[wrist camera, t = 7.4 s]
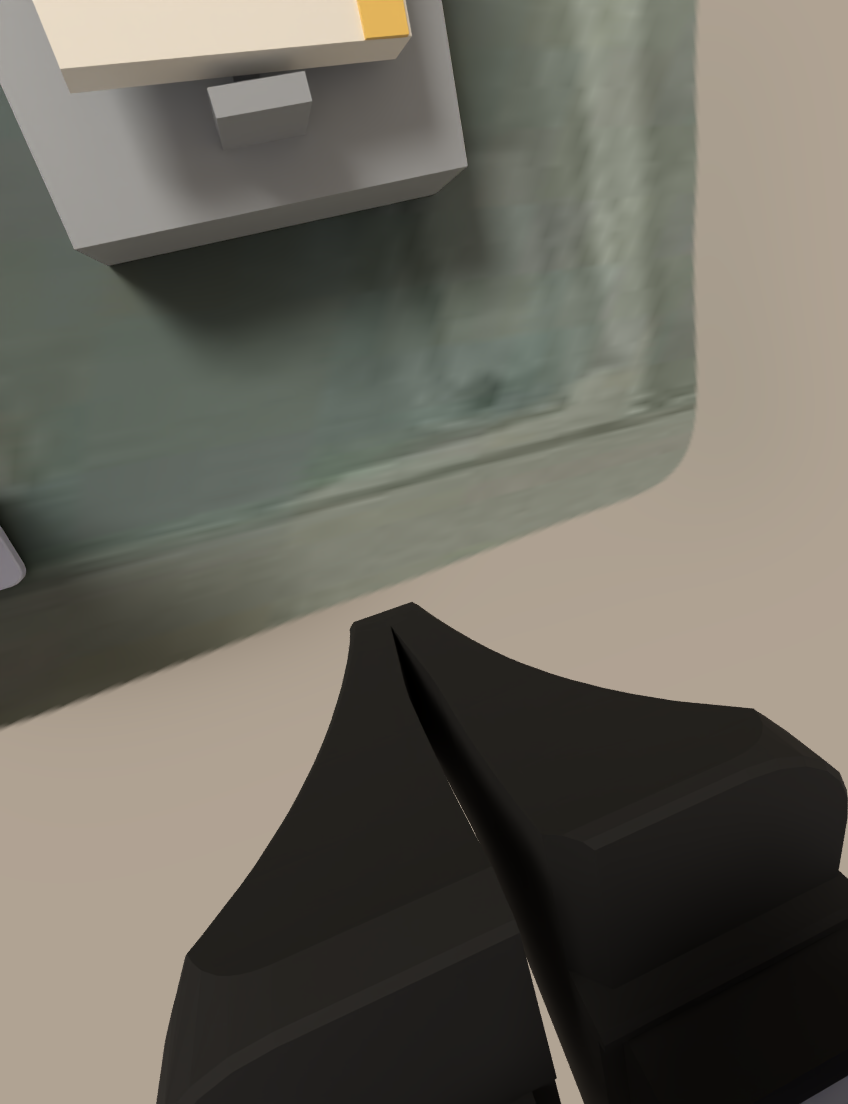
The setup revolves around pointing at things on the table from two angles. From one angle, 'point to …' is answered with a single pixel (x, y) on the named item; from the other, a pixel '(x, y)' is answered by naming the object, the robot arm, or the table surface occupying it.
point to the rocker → (214, 38)
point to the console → (232, 142)
